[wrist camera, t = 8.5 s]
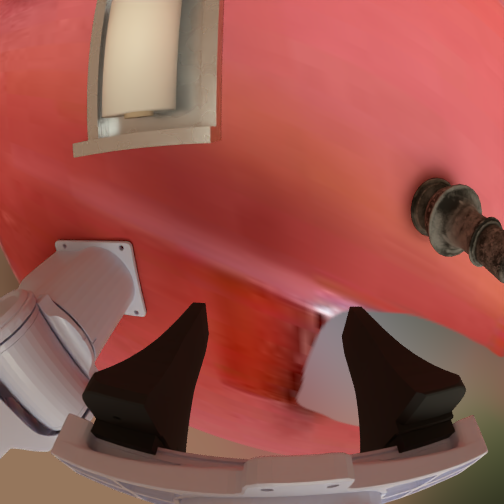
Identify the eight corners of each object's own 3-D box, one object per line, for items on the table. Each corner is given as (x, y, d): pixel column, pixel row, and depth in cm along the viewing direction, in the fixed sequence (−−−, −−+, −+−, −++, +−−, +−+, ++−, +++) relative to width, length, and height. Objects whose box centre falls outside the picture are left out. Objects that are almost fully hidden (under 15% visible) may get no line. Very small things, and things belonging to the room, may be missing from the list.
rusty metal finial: (447, 243, 21) (526, 320, 10) (400, 233, 21) (482, 322, 10) (465, 184, 18) (561, 237, 7) (417, 166, 18) (526, 217, 7)
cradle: (102, 150, 19) (73, 157, 15) (112, -13, 12) (89, -27, 8) (221, 140, 18) (210, 143, 15) (226, -37, 11) (218, -62, 8)
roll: (119, 121, 17) (88, 122, 13) (129, -4, 12) (106, -28, 8) (182, 114, 18) (166, 111, 13) (189, -14, 12) (179, -45, 8)
